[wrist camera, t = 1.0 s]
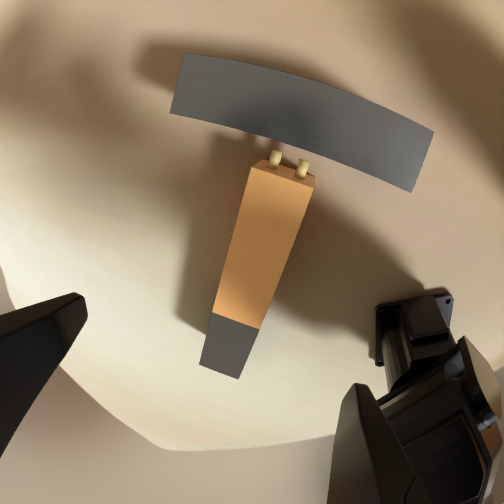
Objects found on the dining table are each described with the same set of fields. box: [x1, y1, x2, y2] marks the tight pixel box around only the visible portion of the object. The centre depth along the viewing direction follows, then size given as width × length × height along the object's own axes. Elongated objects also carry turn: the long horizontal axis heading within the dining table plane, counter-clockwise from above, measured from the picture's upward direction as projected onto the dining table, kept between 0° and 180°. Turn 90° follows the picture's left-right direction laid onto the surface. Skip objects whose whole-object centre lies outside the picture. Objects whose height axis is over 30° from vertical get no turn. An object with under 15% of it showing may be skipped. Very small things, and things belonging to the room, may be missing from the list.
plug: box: [199, 150, 315, 379], centre depth 20 cm, size 17×3×3 cm, turn 164°
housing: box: [170, 53, 434, 193], centre depth 14 cm, size 3×11×6 cm, turn 74°
